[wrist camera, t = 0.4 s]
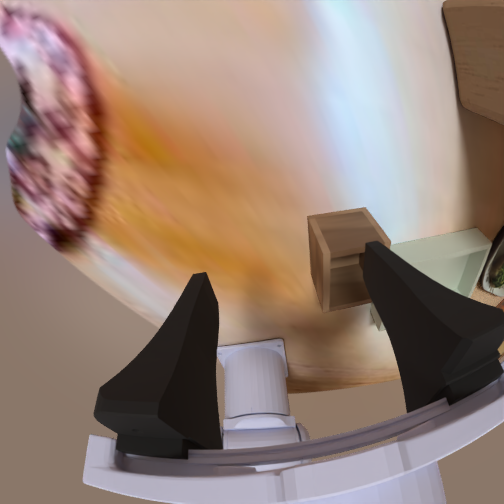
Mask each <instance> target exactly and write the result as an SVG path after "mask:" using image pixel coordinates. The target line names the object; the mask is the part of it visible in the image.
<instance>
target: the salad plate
mask: <svg viewBox="0 0 504 504" xmlns="http://www.w3.org/2000/svg"><path fill="white" fill-rule="evenodd" d="M480 283H481V286H482V288H483V289H484V290H486V291H488V292H490V293H492V294H495V295H497V296H500V297H503V296H504V226H503V227H502V229H501V230H500V232H499V233H498V235H497V236H496V238H495V239H494V241H493V243H492V246H491V248H490V251H489V254H488V257H487V259H486V262H485V265H484V267H483V270H482V272H481V274H480Z"/></svg>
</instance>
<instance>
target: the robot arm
mask: <svg viewBox="0 0 504 504" xmlns="http://www.w3.org/2000/svg"><path fill="white" fill-rule="evenodd" d="M363 279H364V282H365V285H366V288H367V291H368V293H369V296H370V298H371V300H372V302H373V304H374V306H375V308H376V310H377V312H378V314H379V316H380V318H381V321H382V323H383V325H384V327H385V329H386V331H387V333H388V336H389V338H390V341H391V344H392V347H393V350H394V354H395V357H396V361H397V364H398V368H399V372H400V376H401V381H402V385H403V390H404V396H405V402H406V409H407V414H404V415H401V416H398V417H396V418H393V419H390V420H387V421H384V422H381V423H377V424H374V425H371V426H367V427H364V428H360V429H357V430H353V431H349V432H346V433H341V434H337V435H333V436H328V437H324V438H318V439H313V440H310V436H309V433H308V431H307V429H306V428H305V427H304V426H303V425H302V424H301V423H295V417H294V416H290V409H289V402H288V394H287V387H286V379H285V377H288V369H287V363H286V356H285V350H284V343H283V340H282V339H273V340H267V341H260V342H253V343H246V344H238V345H230V346H221V347H217V346H218V333H219V307H218V301H217V299H216V296H215V294H214V291H213V289H212V286H211V283H210V281H209V278H208V276H207V273H206V272H203V273H197V274H193V275H192V277H191V279H190V280H189V282H188V284H187V286H186V287H185V289H184V291H183V293H182V294H181V296H180V298H179V300H178V301H177V303H176V305H175V306H174V308H173V310H172V311H171V313H170V314H169V316H168V317H167V319H166V320H165V322H164V323H163V325H162V326H161V328H160V329H159V331H158V332H157V333H156V335H155V336H154V337H153V338H152V340H151V341H150V342H149V343H148V344H147V345H146V347H145V348H144V349H143V350H142V351H141V352H140V353H139V354H138V355H137V356H136V358H134V360H132V361H131V362H130V363H129V364H128V365H127V366H126V367H125V368H124V369H123V370H122V371H120V373H118V374H117V375H116V376H114V377H113V378H112V379H111V380H109V381H108V382H107V383H105V384H104V385H103V386H101V387H100V389H99V393H98V397H97V401H96V405H95V410H94V417H95V418H96V419H97V421H98V422H100V423H101V424H103V425H104V426H106V427H107V428H109V429H111V430H112V431H114V432H116V433H117V434H118V436H117V440H116V439H114V438H110V437H105V436H99V435H94V434H91V435H90V436H89V442H88V447H87V454H86V460H85V468H84V475H83V483H85V484H88V485H91V486H94V487H97V488H101V489H104V490H108V491H112V492H116V493H119V494H123V495H128V496H132V497H137V498H143V499H148V500H154V501H160V502H166V503H175V504H447V503H446V498H445V493H444V489H443V484H442V480H441V475H440V471H439V468H438V463H437V460H439V459H441V458H444V457H446V456H447V455H449V454H451V453H453V452H455V451H457V450H459V449H460V448H462V447H464V446H466V445H468V444H469V443H471V442H473V441H474V440H476V439H478V438H479V437H481V436H482V435H484V434H486V433H487V432H489V431H490V430H492V429H493V428H495V427H496V426H497V425H499V424H500V423H502V422H503V421H504V361H503V362H502V363H501V364H500V362H499V360H498V358H499V357H500V353H499V351H498V348H499V347H500V345H501V344H502V343H503V341H504V312H503V310H502V309H500V308H497V307H493V306H490V305H487V304H483V303H481V302H478V301H475V300H473V299H470V298H468V297H466V296H463V295H461V294H459V293H457V292H455V291H453V290H451V289H449V288H447V287H445V286H443V285H442V284H440V283H438V282H436V281H435V280H433V279H431V278H430V277H428V276H427V275H425V274H424V273H422V272H421V271H419V270H418V269H416V268H415V267H413V266H412V265H410V264H409V263H408V262H406V261H405V260H404V259H402V258H401V257H399V256H398V255H397V254H395V253H394V252H393V251H391V250H390V249H389V248H387V247H386V246H385V245H383V244H382V243H380V242H379V241H372V242H367V243H365V256H364V267H363ZM217 356H218V358H219V360H220V362H221V364H222V366H223V368H224V369H225V419H224V429H223V427H220V423H219V413H218V402H217V387H216V359H217ZM400 434H401V435H400ZM398 435H399V436H398ZM395 436H398V437H397V440H396V441H392V442H388V443H385V444H382V445H379V446H375V447H372V448H369V449H365V450H362V451H358V452H355V453H351V454H347V455H343V456H339V457H334V458H330V459H326V460H320V461H315V462H311V460H312V458H318V457H322V456H327V455H332V454H336V453H341V452H344V451H349V450H352V449H356V448H360V447H364V446H367V445H370V444H374V443H377V442H380V441H383V440H386V439H389V438H392V437H395Z"/></svg>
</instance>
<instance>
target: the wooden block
mask: <svg viewBox="0 0 504 504" xmlns="http://www.w3.org/2000/svg"><path fill="white" fill-rule="evenodd" d="M443 12H444V15H445V19H446V23H447V27H448V31H449V35H450V39H451V44H452V49H453V54H454V60H455V66H456V73H457V80H458V88H459V98H460V101H461V104H462V106H463V107H465V108H466V109H468V110H469V111H471V112H474V113H476V114H479V115H481V116H484V117H486V118H489V119H491V120H493V121H495V122H498V123H500V124H502V125H504V0H446V1H445V2H443Z"/></svg>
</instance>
